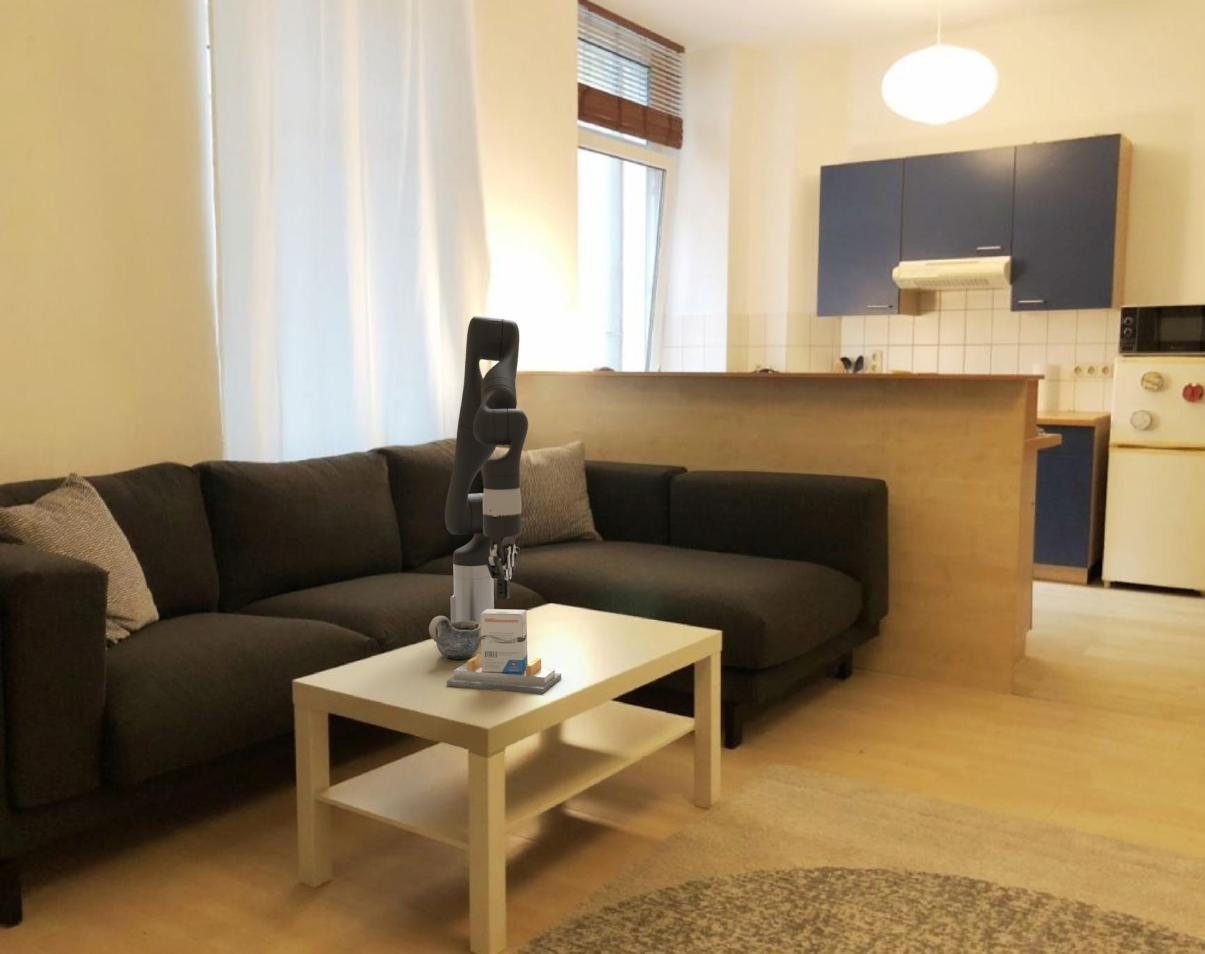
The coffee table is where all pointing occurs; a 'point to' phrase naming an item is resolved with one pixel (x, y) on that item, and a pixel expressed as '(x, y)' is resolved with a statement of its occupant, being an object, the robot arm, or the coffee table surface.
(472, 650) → the mug
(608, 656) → the coffee table surface
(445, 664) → the coffee table surface
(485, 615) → the ink box
